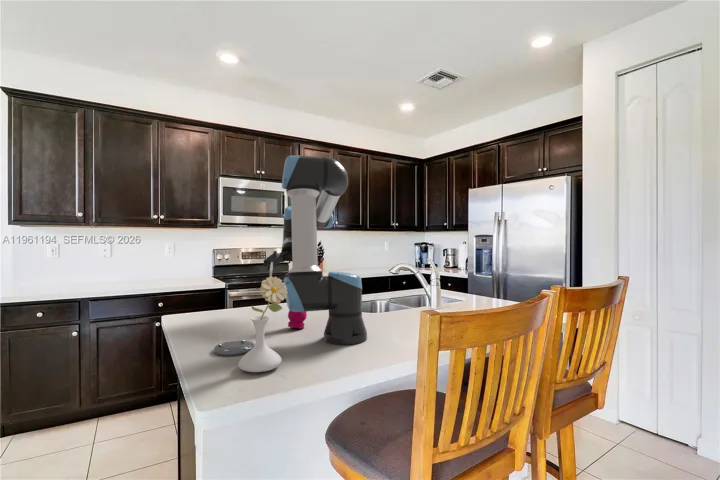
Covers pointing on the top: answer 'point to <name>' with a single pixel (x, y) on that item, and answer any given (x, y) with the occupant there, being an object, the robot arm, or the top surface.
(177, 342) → the top surface
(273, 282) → the flower in vase
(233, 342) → the flange plate
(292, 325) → the pepper mill
